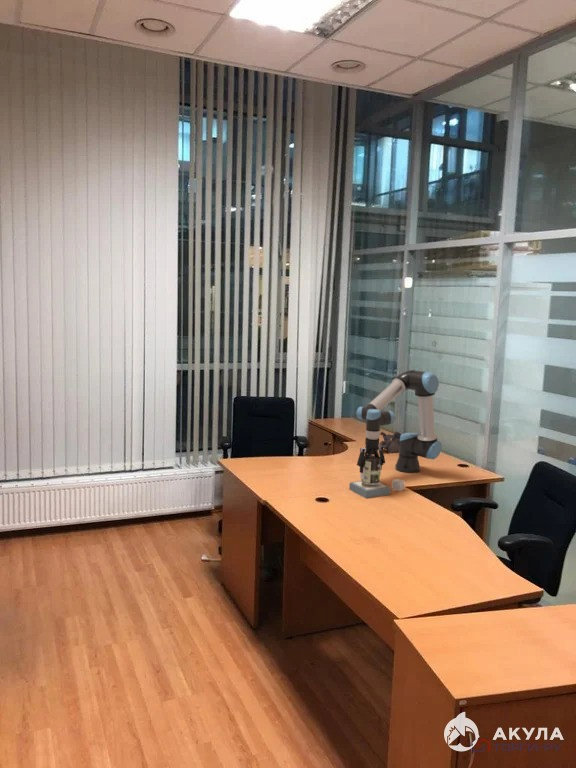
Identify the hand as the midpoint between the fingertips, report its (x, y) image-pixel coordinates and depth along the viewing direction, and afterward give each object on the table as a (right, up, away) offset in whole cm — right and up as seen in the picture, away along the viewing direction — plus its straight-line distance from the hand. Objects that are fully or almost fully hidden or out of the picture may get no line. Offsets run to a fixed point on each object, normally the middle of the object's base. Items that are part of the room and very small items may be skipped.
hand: (370, 477), depth 344 cm
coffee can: (0, -3, 0) cm, 3 cm away
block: (+17, -8, +8) cm, 20 cm away
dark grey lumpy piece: (+28, +4, +90) cm, 94 cm away
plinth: (0, -8, +1) cm, 8 cm away
